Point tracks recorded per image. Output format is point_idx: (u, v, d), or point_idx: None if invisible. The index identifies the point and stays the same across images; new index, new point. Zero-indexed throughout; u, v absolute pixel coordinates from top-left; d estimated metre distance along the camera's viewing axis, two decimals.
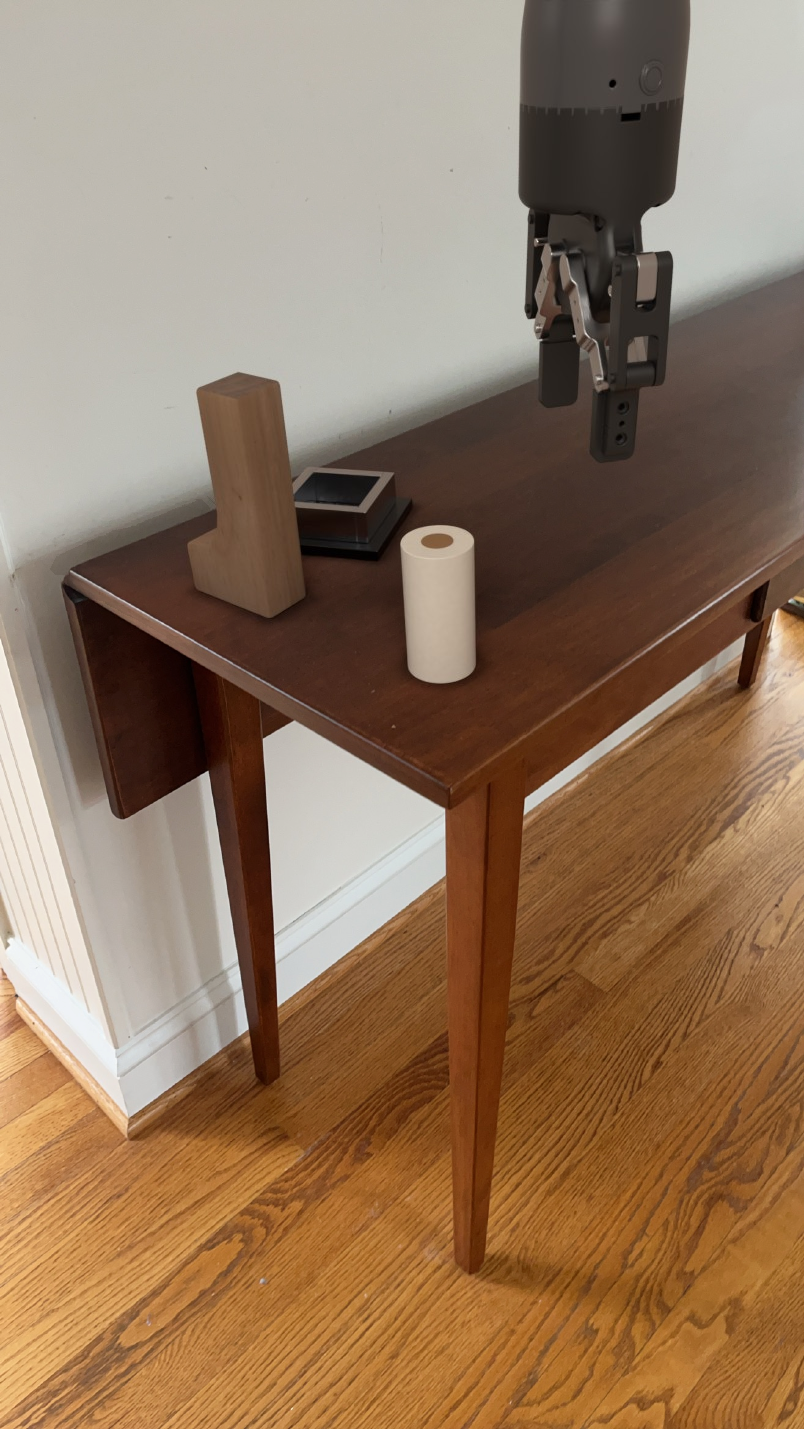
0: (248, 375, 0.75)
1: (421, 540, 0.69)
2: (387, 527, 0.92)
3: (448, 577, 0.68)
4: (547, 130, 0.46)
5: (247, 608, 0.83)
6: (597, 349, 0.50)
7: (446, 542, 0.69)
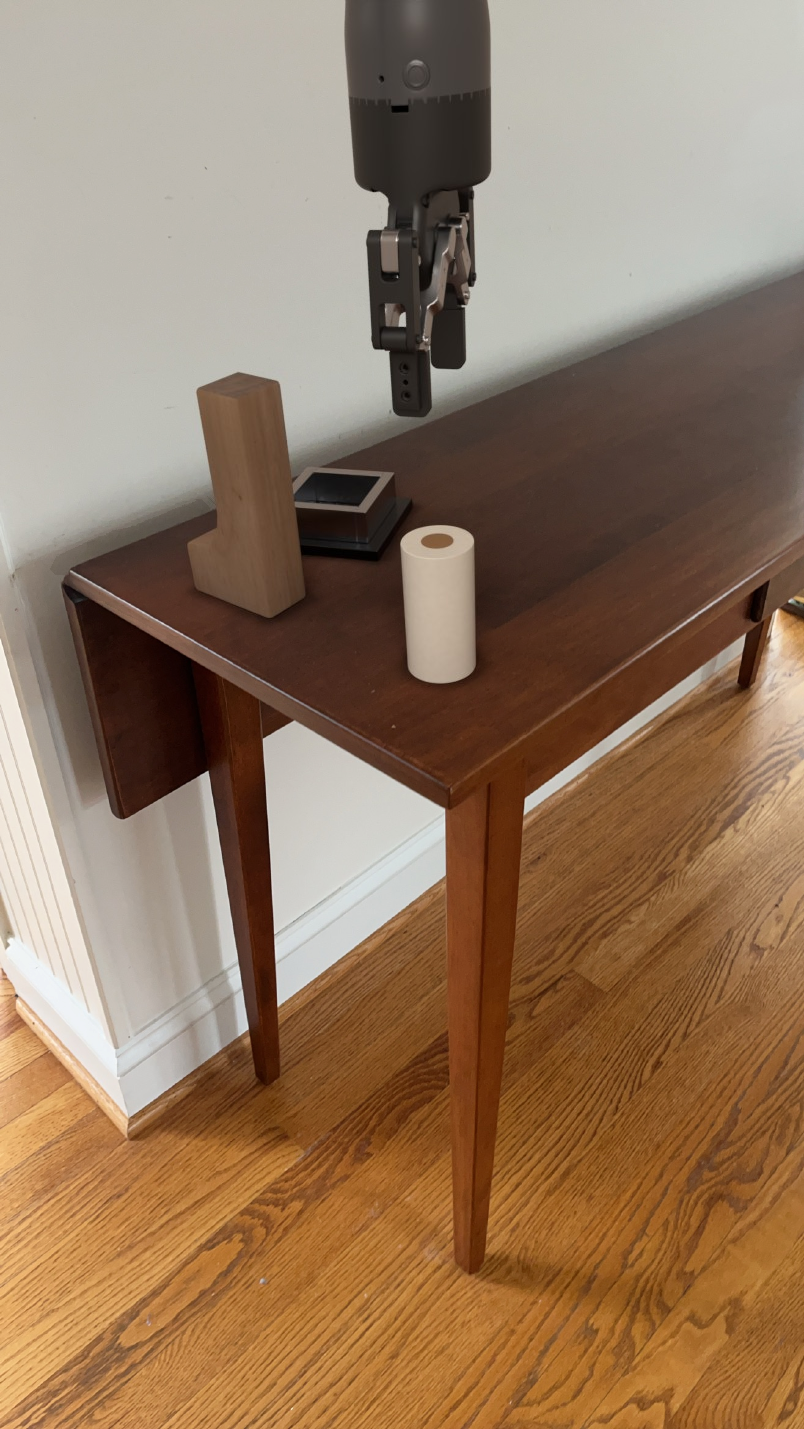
0: (248, 375, 0.75)
1: (421, 540, 0.69)
2: (387, 527, 0.92)
3: (448, 577, 0.68)
4: (351, 116, 0.54)
5: (247, 608, 0.83)
6: None
7: (446, 542, 0.69)
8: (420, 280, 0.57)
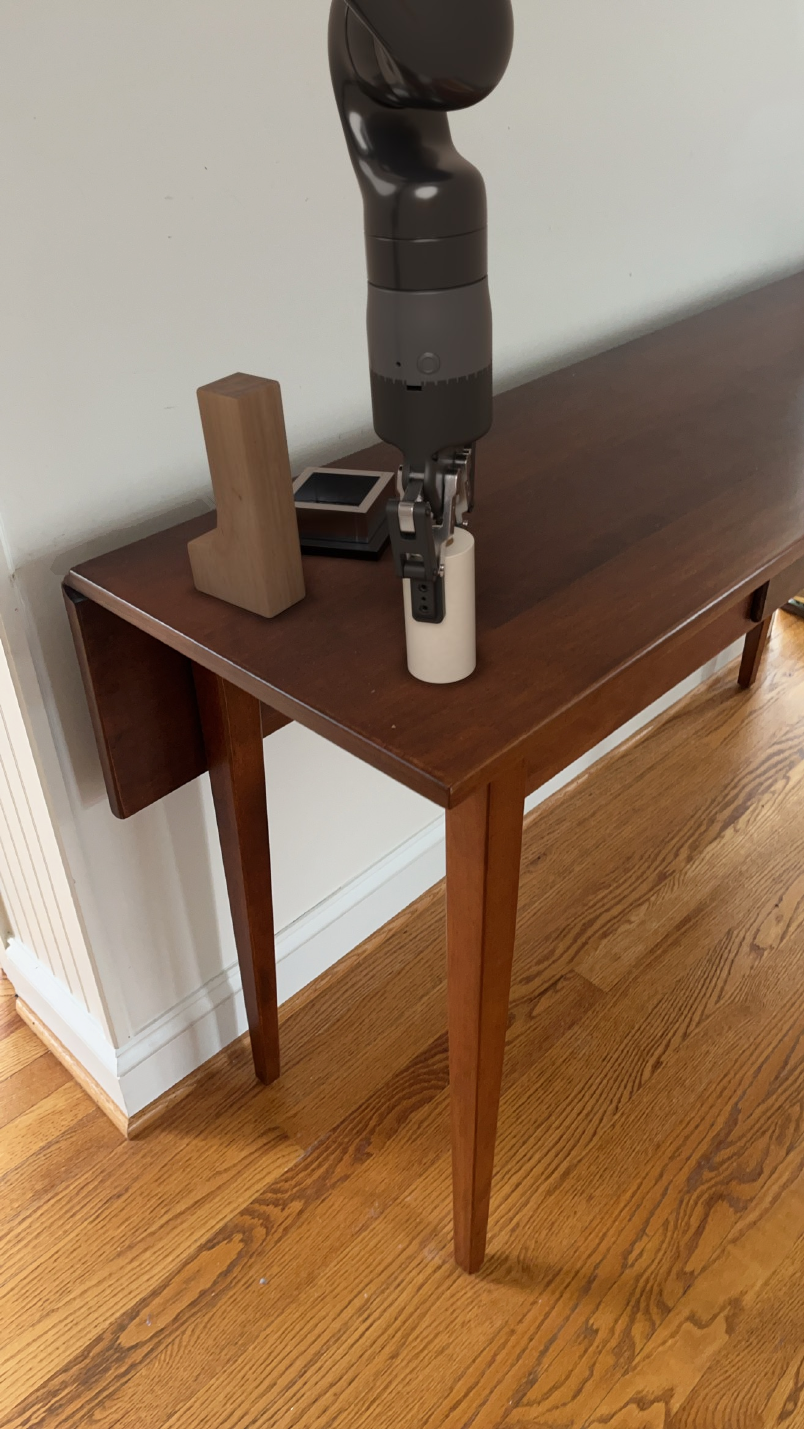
0: (248, 375, 0.75)
1: None
2: (387, 527, 0.92)
3: (448, 577, 0.68)
4: (371, 383, 0.62)
5: (247, 608, 0.83)
6: None
7: (446, 542, 0.69)
8: None
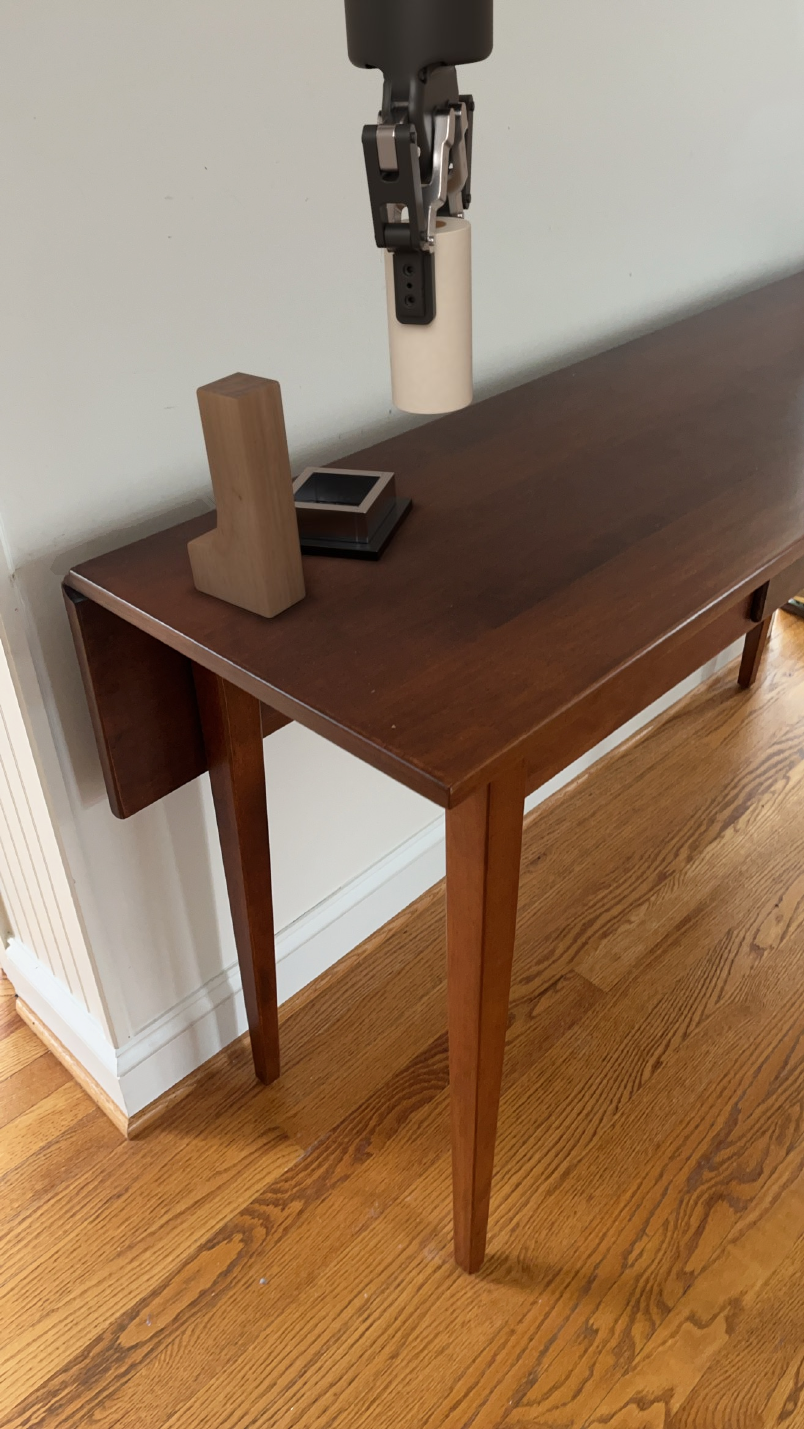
0: (248, 375, 0.75)
1: None
2: (387, 527, 0.92)
3: (440, 263, 0.57)
4: None
5: (247, 608, 0.83)
6: None
7: (437, 225, 0.57)
8: None
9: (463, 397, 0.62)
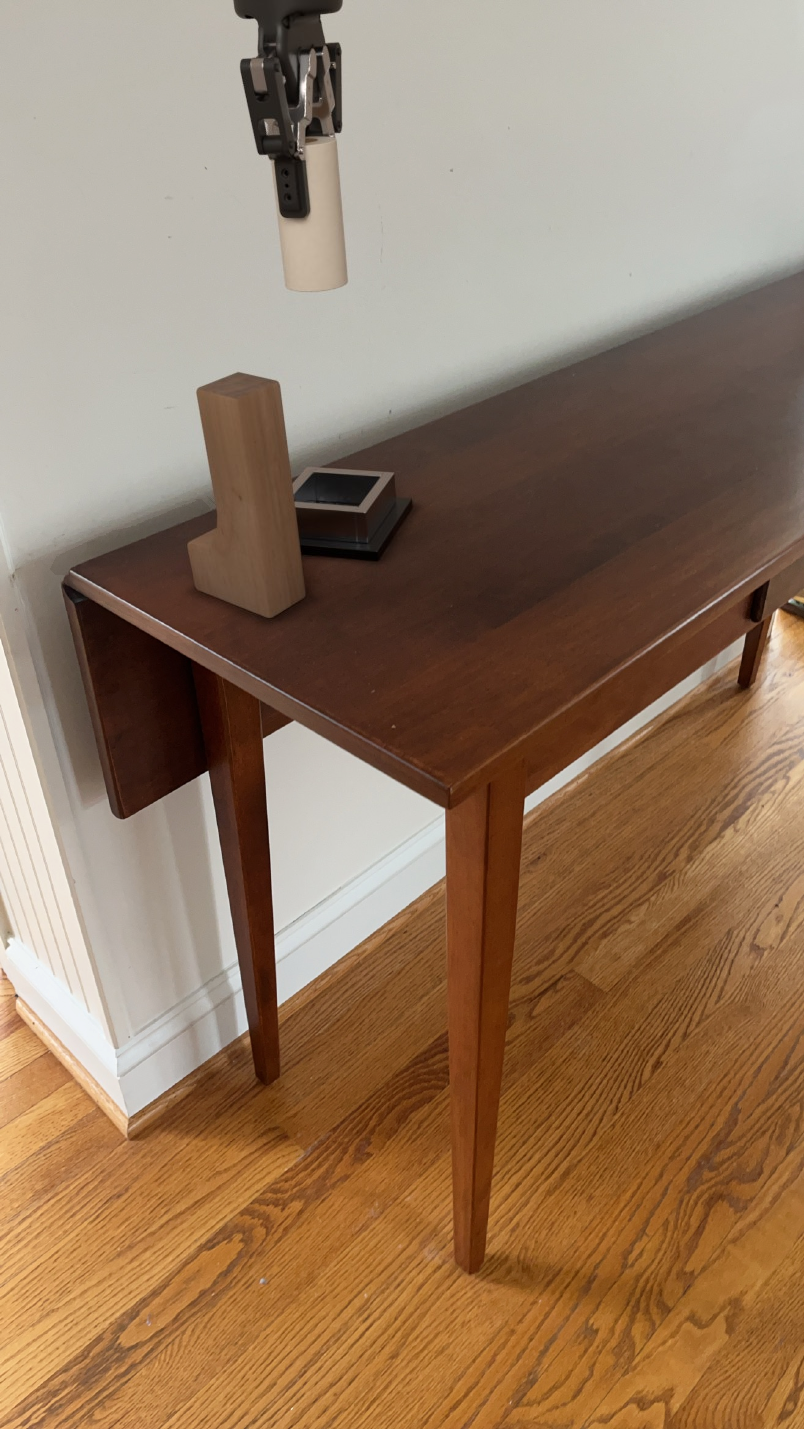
0: (248, 375, 0.75)
1: None
2: (387, 527, 0.92)
3: (311, 169, 0.74)
4: None
5: (247, 608, 0.83)
6: (267, 128, 0.73)
7: (310, 140, 0.75)
8: (288, 93, 0.71)
9: (338, 279, 0.80)
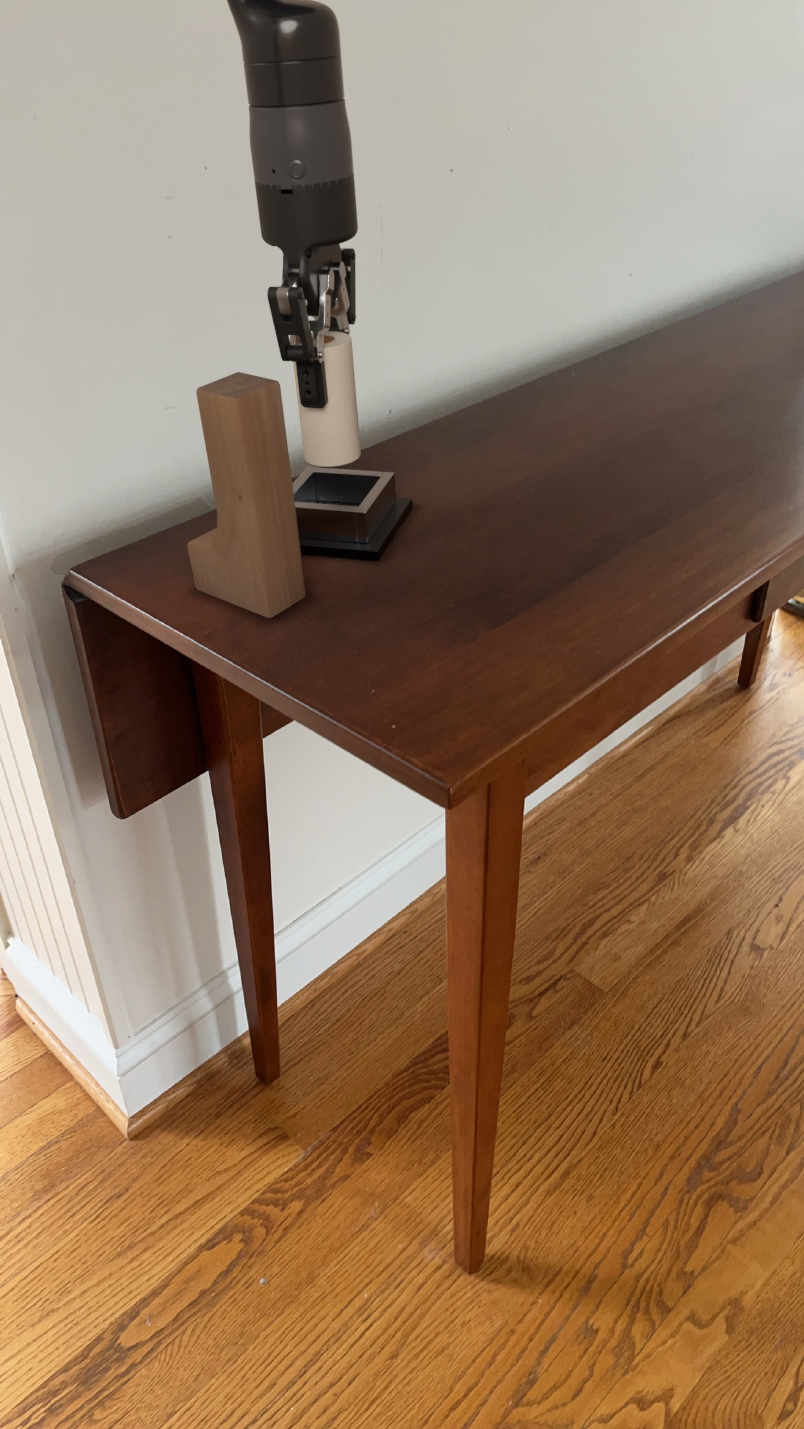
0: (248, 375, 0.75)
1: None
2: (387, 527, 0.92)
3: (329, 367, 0.83)
4: (256, 194, 0.77)
5: (247, 608, 0.83)
6: (290, 336, 0.81)
7: (328, 340, 0.84)
8: (309, 307, 0.80)
9: (352, 454, 0.88)
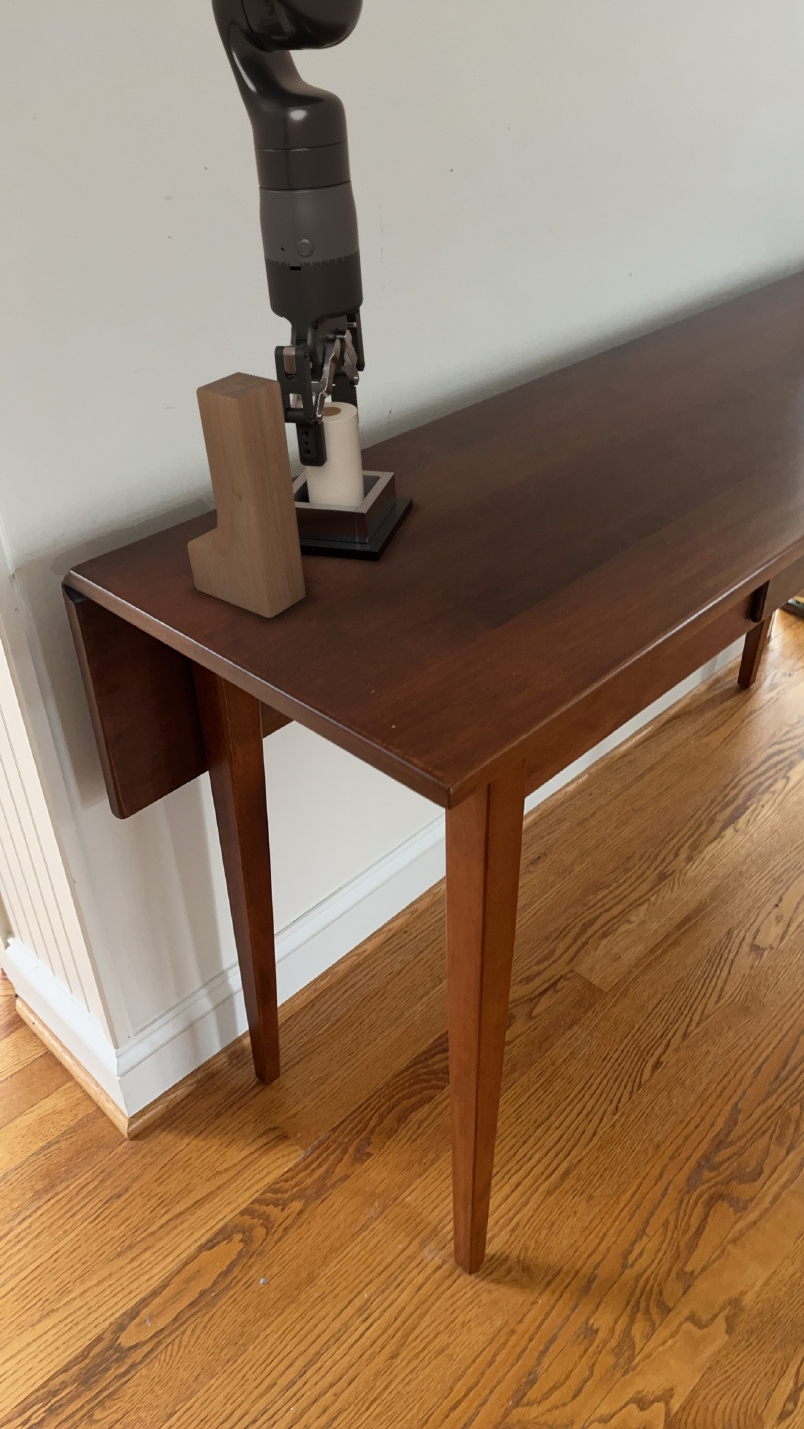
0: (248, 375, 0.75)
1: None
2: (387, 527, 0.92)
3: (336, 439, 0.87)
4: (266, 268, 0.80)
5: (247, 608, 0.83)
6: (292, 396, 0.83)
7: (335, 412, 0.87)
8: (316, 374, 0.83)
9: None
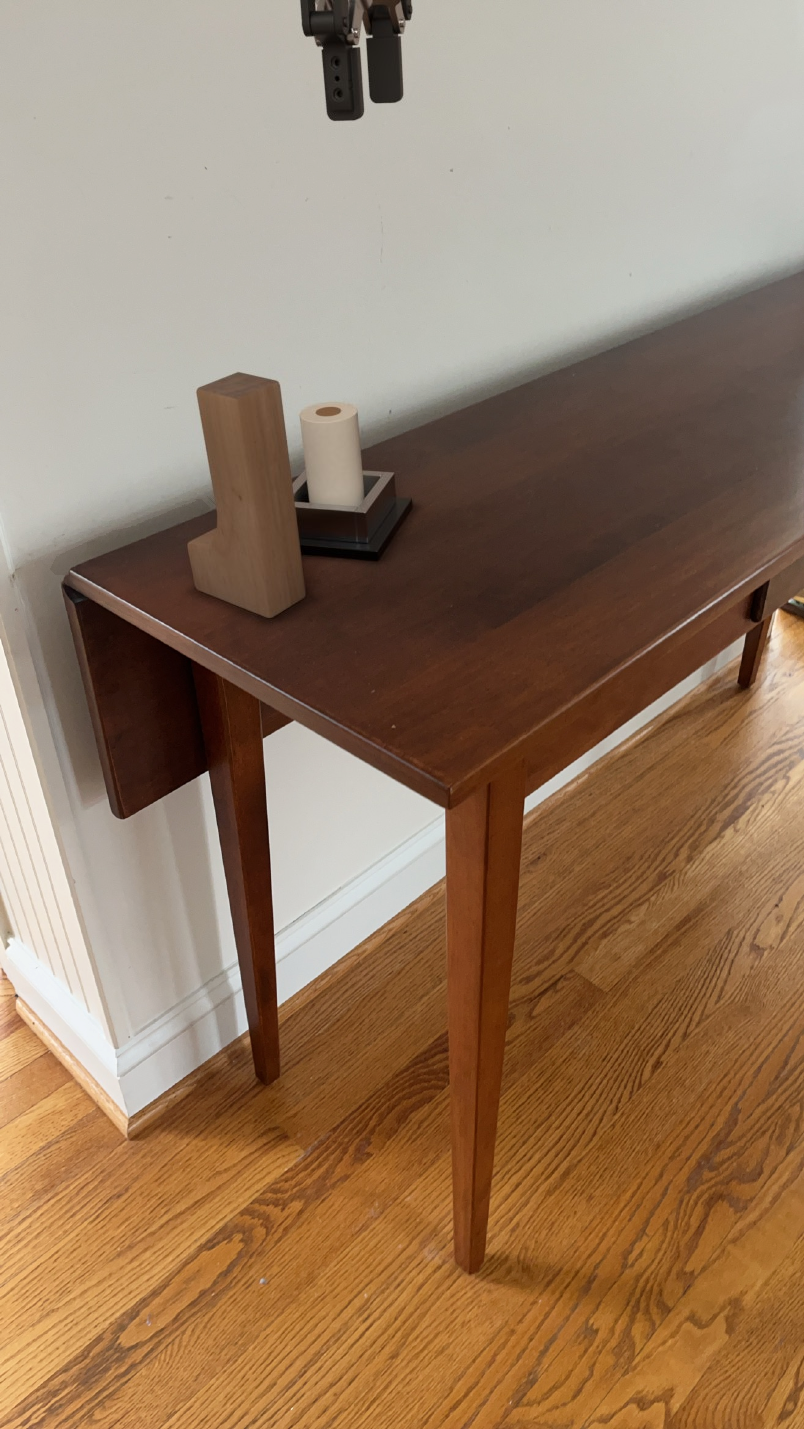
0: (248, 375, 0.75)
1: (315, 411, 0.88)
2: (387, 527, 0.92)
3: (336, 439, 0.87)
4: None
5: (247, 608, 0.83)
6: (317, 6, 0.60)
7: (335, 412, 0.87)
8: None
9: None
